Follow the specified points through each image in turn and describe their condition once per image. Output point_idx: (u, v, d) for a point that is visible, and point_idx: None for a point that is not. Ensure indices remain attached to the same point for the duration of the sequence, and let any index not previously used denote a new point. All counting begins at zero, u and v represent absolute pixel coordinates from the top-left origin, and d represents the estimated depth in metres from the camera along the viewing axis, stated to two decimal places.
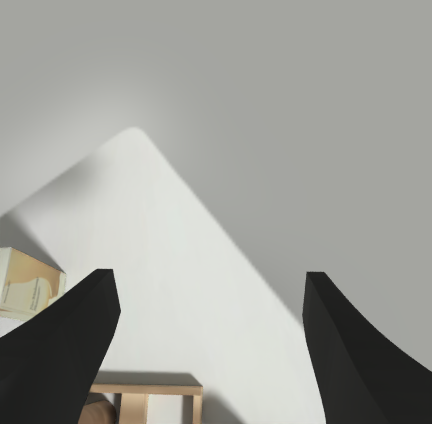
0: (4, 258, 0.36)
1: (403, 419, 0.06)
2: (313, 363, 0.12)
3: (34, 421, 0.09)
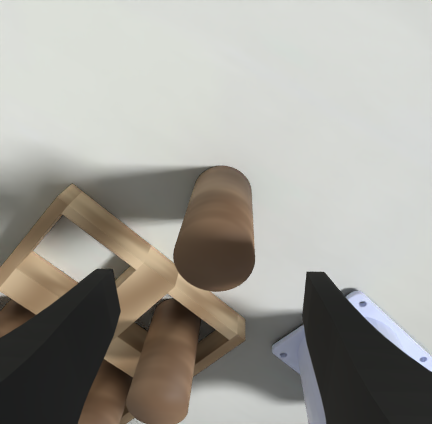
0: None
1: (404, 419, 0.06)
2: (313, 363, 0.12)
3: (34, 421, 0.09)
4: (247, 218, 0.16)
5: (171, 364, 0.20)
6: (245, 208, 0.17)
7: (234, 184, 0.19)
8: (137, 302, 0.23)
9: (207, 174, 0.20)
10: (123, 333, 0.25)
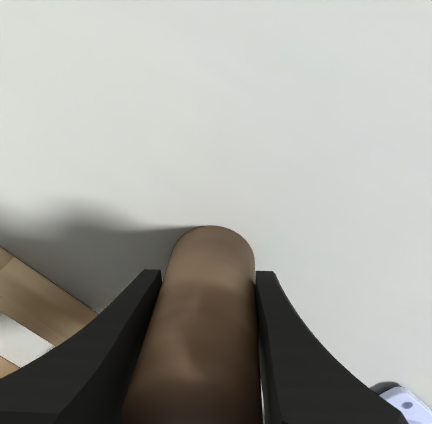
0: None
1: (297, 415, 0.06)
2: None
3: None
4: (249, 339, 0.10)
5: None
6: (246, 314, 0.11)
7: (229, 264, 0.12)
8: None
9: (189, 242, 0.14)
10: None
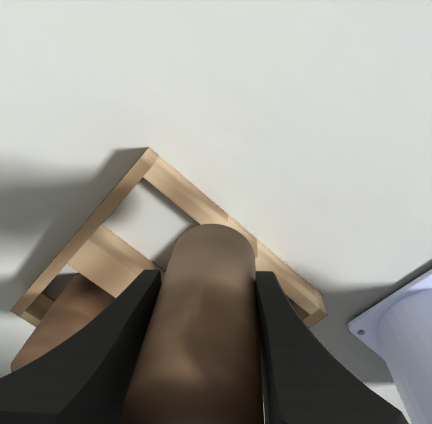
0: None
1: (297, 415, 0.06)
2: None
3: None
4: (251, 337, 0.10)
5: None
6: (247, 313, 0.11)
7: (231, 263, 0.12)
8: None
9: (190, 239, 0.13)
10: None
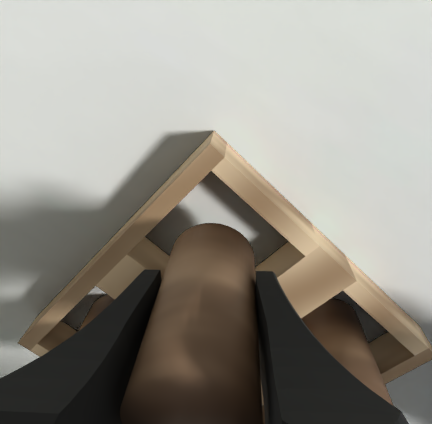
0: None
1: (297, 414, 0.06)
2: None
3: None
4: (250, 337, 0.10)
5: None
6: (247, 313, 0.11)
7: (231, 262, 0.12)
8: (295, 304, 0.16)
9: (189, 238, 0.13)
10: None
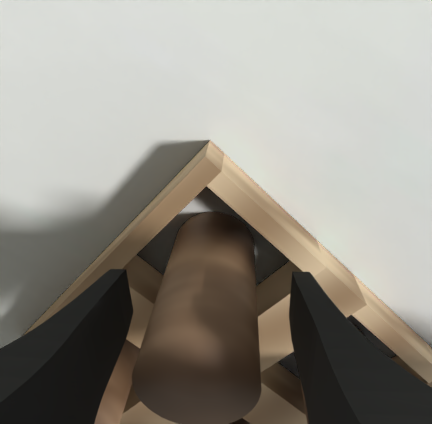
0: None
1: (373, 418, 0.06)
2: (298, 363, 0.12)
3: (54, 422, 0.09)
4: (250, 312, 0.11)
5: None
6: (247, 291, 0.12)
7: (231, 246, 0.13)
8: None
9: (193, 225, 0.14)
10: None
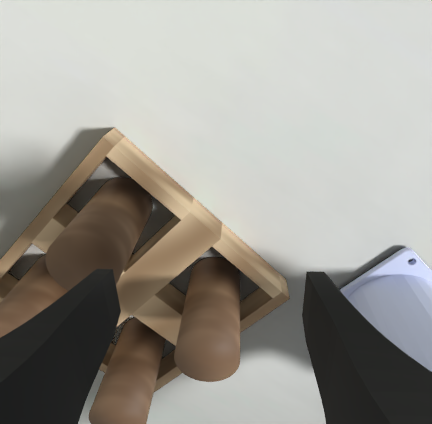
0: None
1: (404, 419, 0.06)
2: (313, 363, 0.12)
3: (34, 421, 0.09)
4: (122, 230, 0.18)
5: (221, 316, 0.19)
6: (126, 220, 0.19)
7: (125, 196, 0.20)
8: (179, 257, 0.22)
9: (105, 185, 0.21)
10: (160, 292, 0.24)
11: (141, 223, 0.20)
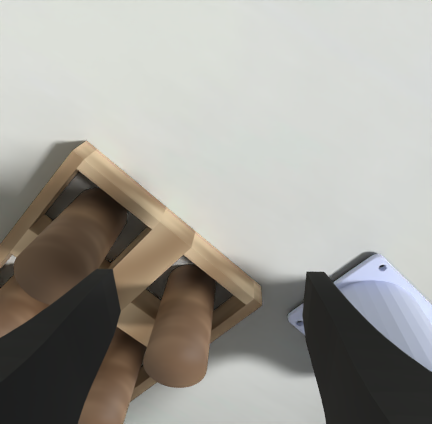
0: None
1: (403, 419, 0.06)
2: (313, 363, 0.12)
3: (34, 421, 0.09)
4: (90, 240, 0.18)
5: (189, 324, 0.20)
6: (94, 231, 0.19)
7: (96, 207, 0.21)
8: (152, 265, 0.23)
9: (79, 196, 0.22)
10: (136, 299, 0.25)
11: (112, 233, 0.21)
